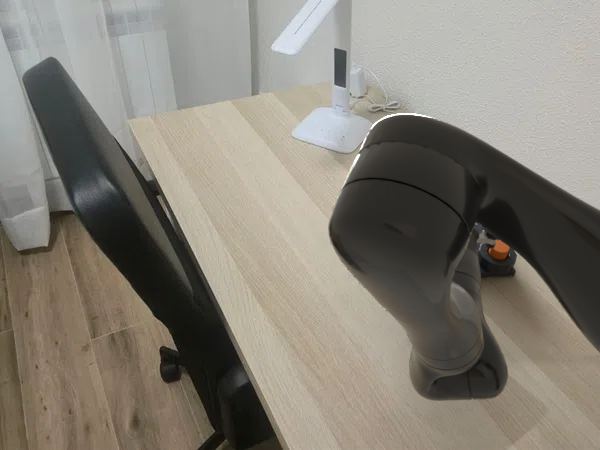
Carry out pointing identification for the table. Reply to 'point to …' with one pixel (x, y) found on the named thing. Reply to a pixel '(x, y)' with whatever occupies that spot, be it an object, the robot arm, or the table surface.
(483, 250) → the scale
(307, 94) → the table surface
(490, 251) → the tare button
